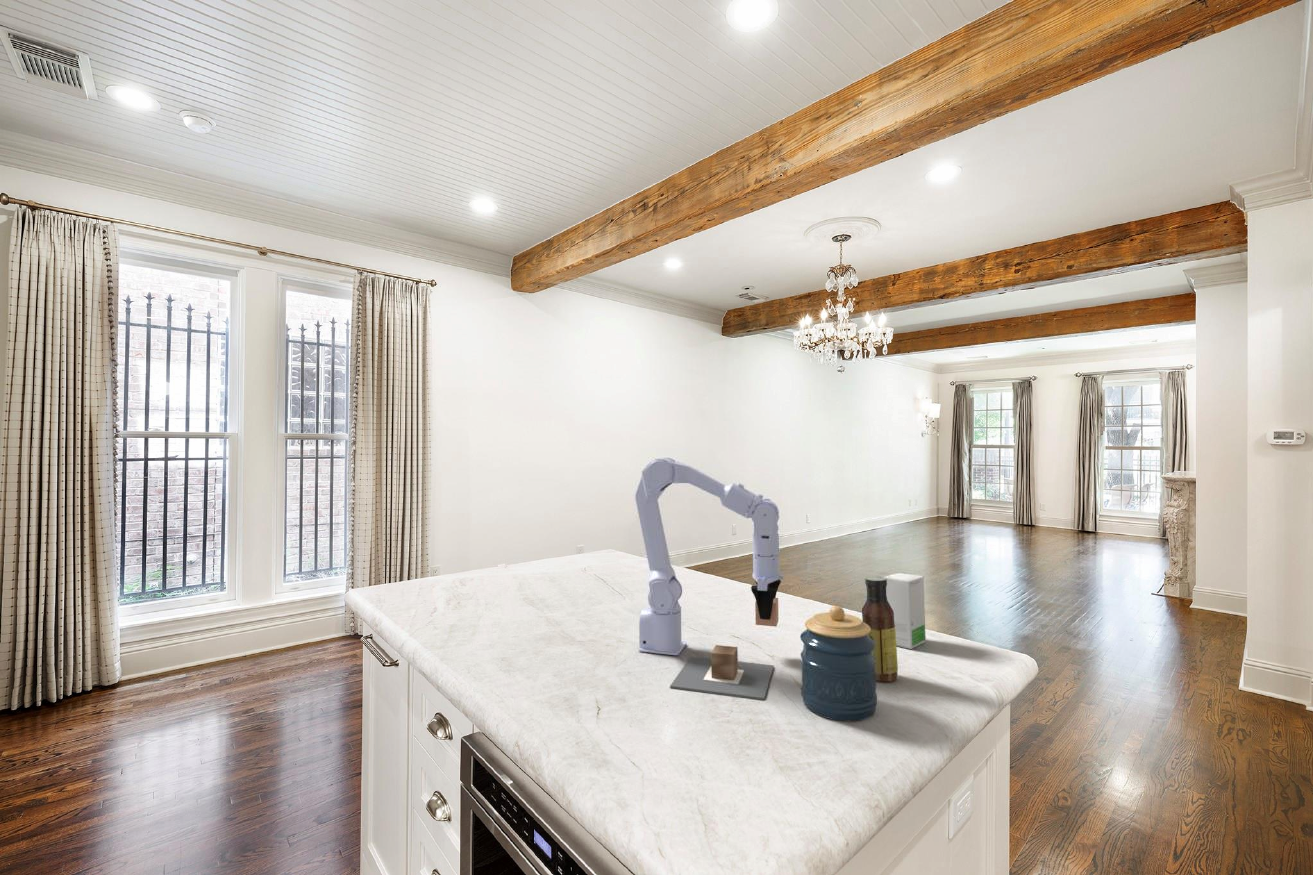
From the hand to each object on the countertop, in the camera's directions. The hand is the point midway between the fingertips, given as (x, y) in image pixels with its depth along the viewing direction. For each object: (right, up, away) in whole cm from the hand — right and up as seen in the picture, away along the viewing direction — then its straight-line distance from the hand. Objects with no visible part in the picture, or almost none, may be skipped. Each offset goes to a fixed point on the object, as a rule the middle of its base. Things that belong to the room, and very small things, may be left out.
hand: (766, 615), depth 123 cm
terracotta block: (0, -2, 0) cm, 2 cm away
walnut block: (-11, -8, -11) cm, 18 cm away
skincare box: (+34, -9, +8) cm, 36 cm away
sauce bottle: (+20, -9, -12) cm, 25 cm away
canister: (+8, -9, -24) cm, 27 cm away
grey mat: (-11, -9, -11) cm, 18 cm away
